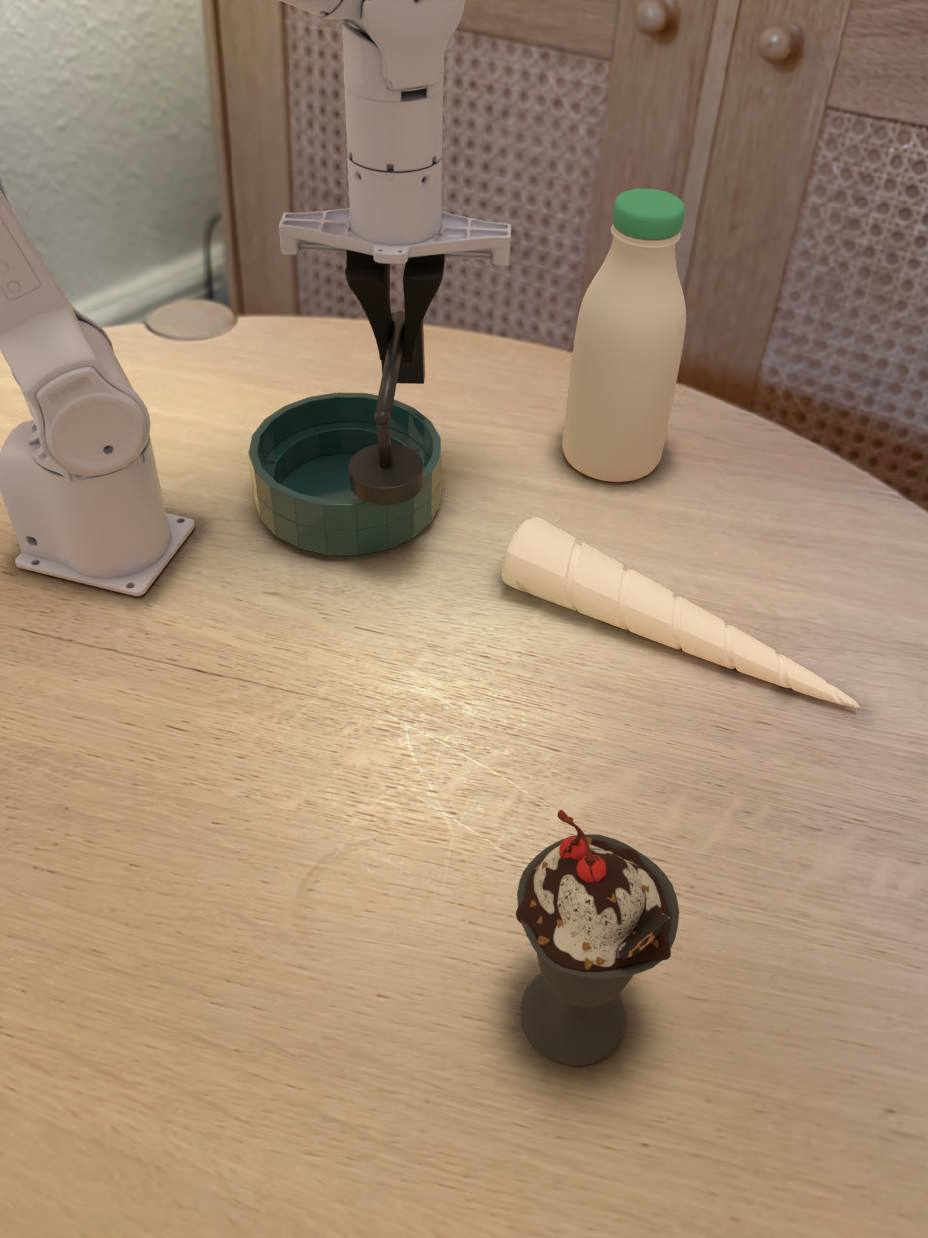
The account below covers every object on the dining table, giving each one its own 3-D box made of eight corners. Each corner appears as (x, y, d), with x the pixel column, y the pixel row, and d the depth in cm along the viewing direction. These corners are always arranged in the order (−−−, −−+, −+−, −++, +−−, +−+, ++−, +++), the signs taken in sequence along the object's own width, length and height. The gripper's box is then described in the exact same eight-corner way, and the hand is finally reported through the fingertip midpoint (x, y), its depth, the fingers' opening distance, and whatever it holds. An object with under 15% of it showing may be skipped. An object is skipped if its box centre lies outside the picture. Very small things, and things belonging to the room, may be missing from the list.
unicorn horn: (836, 753, 63) (860, 698, 60) (492, 593, 72) (495, 538, 69) (862, 702, 66) (886, 647, 63) (528, 555, 75) (533, 500, 72)
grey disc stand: (421, 506, 68) (418, 434, 64) (345, 505, 68) (337, 432, 64) (437, 375, 79) (435, 306, 75) (372, 374, 79) (366, 305, 75)
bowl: (225, 538, 75) (216, 480, 72) (300, 434, 84) (295, 378, 81) (405, 579, 73) (404, 522, 69) (462, 467, 82) (464, 411, 78)
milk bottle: (666, 487, 81) (719, 229, 67) (563, 483, 81) (595, 224, 67) (655, 427, 86) (701, 178, 72) (558, 424, 86) (586, 173, 72)
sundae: (493, 955, 53) (513, 769, 43) (627, 946, 54) (679, 761, 43) (508, 1090, 49) (534, 918, 38) (655, 1079, 49) (720, 907, 39)
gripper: (262, 174, 62) (283, 379, 72) (514, 187, 62) (501, 391, 71) (282, 128, 67) (299, 325, 77) (516, 139, 67) (503, 336, 76)
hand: (397, 353), depth 74 cm, fingers closed on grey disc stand
